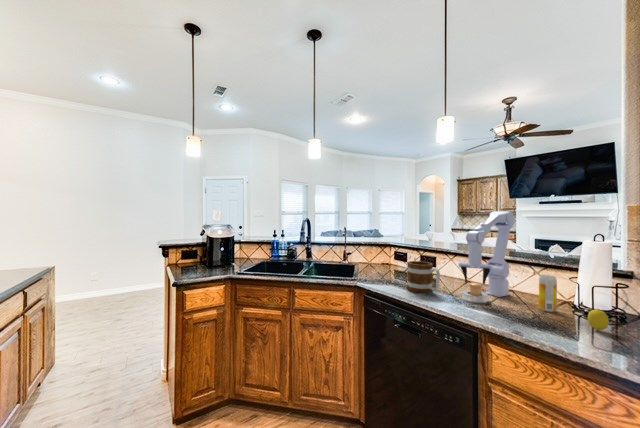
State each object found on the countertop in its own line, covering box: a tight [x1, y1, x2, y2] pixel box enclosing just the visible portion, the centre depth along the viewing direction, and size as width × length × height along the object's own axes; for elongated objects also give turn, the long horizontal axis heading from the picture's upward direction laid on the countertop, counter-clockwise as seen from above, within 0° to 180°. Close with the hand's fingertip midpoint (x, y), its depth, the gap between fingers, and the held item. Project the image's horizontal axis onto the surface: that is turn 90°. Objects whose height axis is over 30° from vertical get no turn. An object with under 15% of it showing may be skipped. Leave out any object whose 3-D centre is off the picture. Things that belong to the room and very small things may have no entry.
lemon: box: [587, 308, 610, 332], centre depth 103 cm, size 6×6×8 cm
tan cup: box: [468, 282, 483, 295], centre depth 140 cm, size 6×6×7 cm
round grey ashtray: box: [461, 289, 489, 304], centre depth 140 cm, size 11×11×3 cm
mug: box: [406, 260, 441, 295], centre depth 154 cm, size 20×14×15 cm
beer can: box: [538, 274, 558, 313], centre depth 125 cm, size 6×6×15 cm
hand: (474, 282), depth 140 cm, fingers open, 7 cm apart
